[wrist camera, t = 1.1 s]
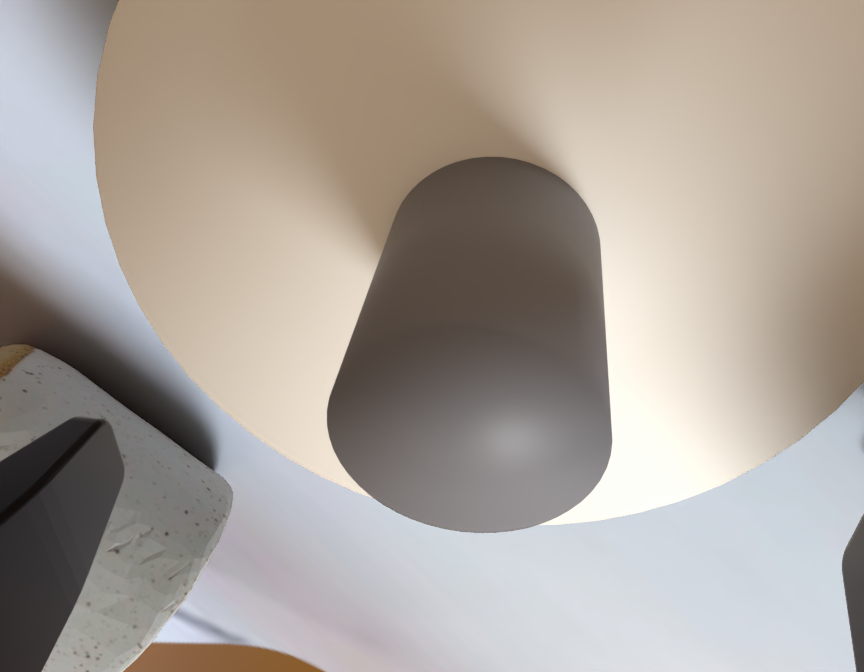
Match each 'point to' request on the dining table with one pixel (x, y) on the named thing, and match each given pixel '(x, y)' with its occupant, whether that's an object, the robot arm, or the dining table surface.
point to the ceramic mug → (119, 513)
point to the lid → (497, 236)
